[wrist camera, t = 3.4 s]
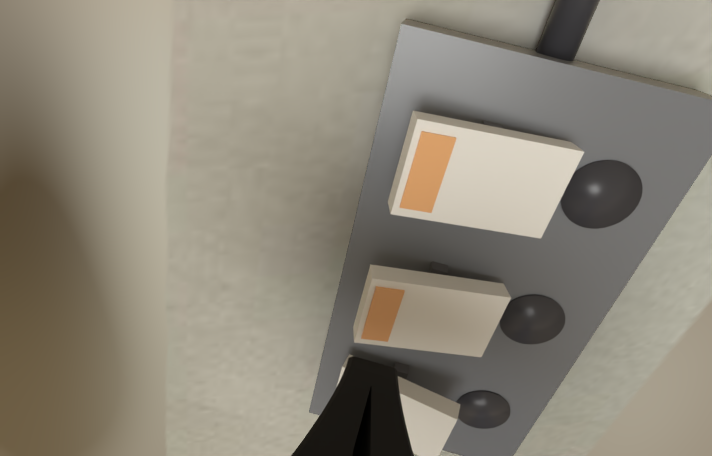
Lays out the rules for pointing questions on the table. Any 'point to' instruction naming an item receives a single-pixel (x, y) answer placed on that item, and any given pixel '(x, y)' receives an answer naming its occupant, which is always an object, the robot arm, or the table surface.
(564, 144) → the rocker
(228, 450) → the table surface
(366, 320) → the rocker
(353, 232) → the power strip
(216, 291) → the table surface
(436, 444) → the white rectangular block
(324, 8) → the table surface
